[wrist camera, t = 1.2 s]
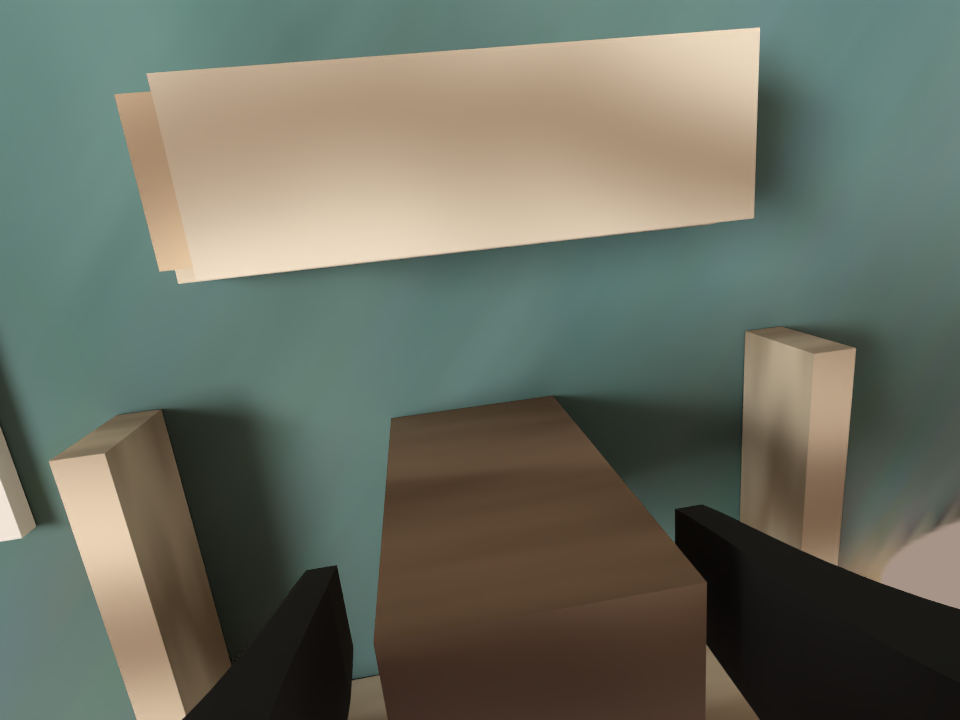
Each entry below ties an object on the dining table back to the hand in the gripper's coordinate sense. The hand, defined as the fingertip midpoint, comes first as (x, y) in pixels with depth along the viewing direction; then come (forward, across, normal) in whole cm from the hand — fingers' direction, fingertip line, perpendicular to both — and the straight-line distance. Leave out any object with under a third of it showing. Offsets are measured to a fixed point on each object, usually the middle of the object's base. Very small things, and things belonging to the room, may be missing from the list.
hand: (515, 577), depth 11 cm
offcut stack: (+6, 0, -8) cm, 10 cm away
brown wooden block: (+6, 0, 0) cm, 6 cm away
